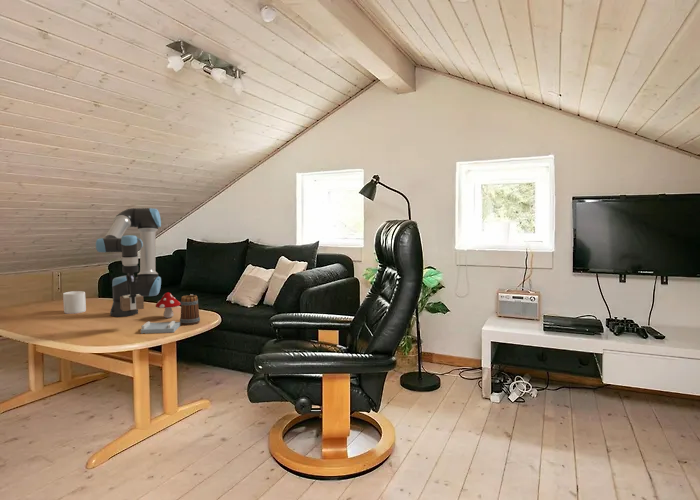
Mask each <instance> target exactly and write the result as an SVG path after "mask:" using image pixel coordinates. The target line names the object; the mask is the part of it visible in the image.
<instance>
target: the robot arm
mask: <svg viewBox="0 0 700 500" xmlns="http://www.w3.org/2000/svg"><path fill="white" fill-rule="evenodd" d="M112 223H113V224H112V225H111V227H110V228H109V230H108V231H107V233H106V234H105V236H104V237H101V238H97V239H96V240H95V249H96V251H97V252H98V253H121V257H122V258H121V259H120V261H121V263H122V267H121V268H122V274H126V275H121V276H118V277H114V278H113V279H112V285H111V287H112V305H111V308H110V311H109V313H110V316H111V317H115V318H118V317H119V318H121V317H130V316H135V315H137V314H139V309H137V310H133V309H136V294H139V295H142V296H143V297H154V296H157V295H159V293H160V290H161V287H162V286H161V285H162V277H161V276H159V273H158V272H157V271H156V237H157V236H156V233H157V232H158V231H159V228H160V227H161V228H162V219H161V214H160V211H159V210H158V208H153V207H152V208H151V207H147V208H146V207H145V208H144V207H141V208H140V207H139V208H138V207H136V208H134V207H133V208H128V209H125V210H122V211H121V212H119V213H117V215H115V217H114V218H113V222H112ZM129 228H137V231H138V232H139V234H140V237H138V236H137V235H135V234H134V235H133V234H132V235H124V234H125V233H126V231H127V230H129ZM139 251H140V252H139ZM138 253H140V254H139V256H138ZM139 257H140V259H139ZM139 260H140V261H139ZM138 264H139V265H138ZM139 266H140V267H139ZM134 273H135V274H136V273H137V276H135V274H134ZM125 295H130V296H129V298H130V310H129V311H122V310H121V308H120V297H122V296H125Z"/></svg>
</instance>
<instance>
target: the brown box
mask: <svg viewBox="0 0 700 500" xmlns="http://www.w3.org/2000/svg"><path fill="white" fill-rule="evenodd" d="M129 296H130V295H125V296H122V297H120V308H121V310H122V311H129V310H130V298H129ZM144 301H145V300H144V296H142V295H139V294H136V309H133V310H137V309H138V310H143V309H145V305H144V304H145V303H144Z"/></svg>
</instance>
